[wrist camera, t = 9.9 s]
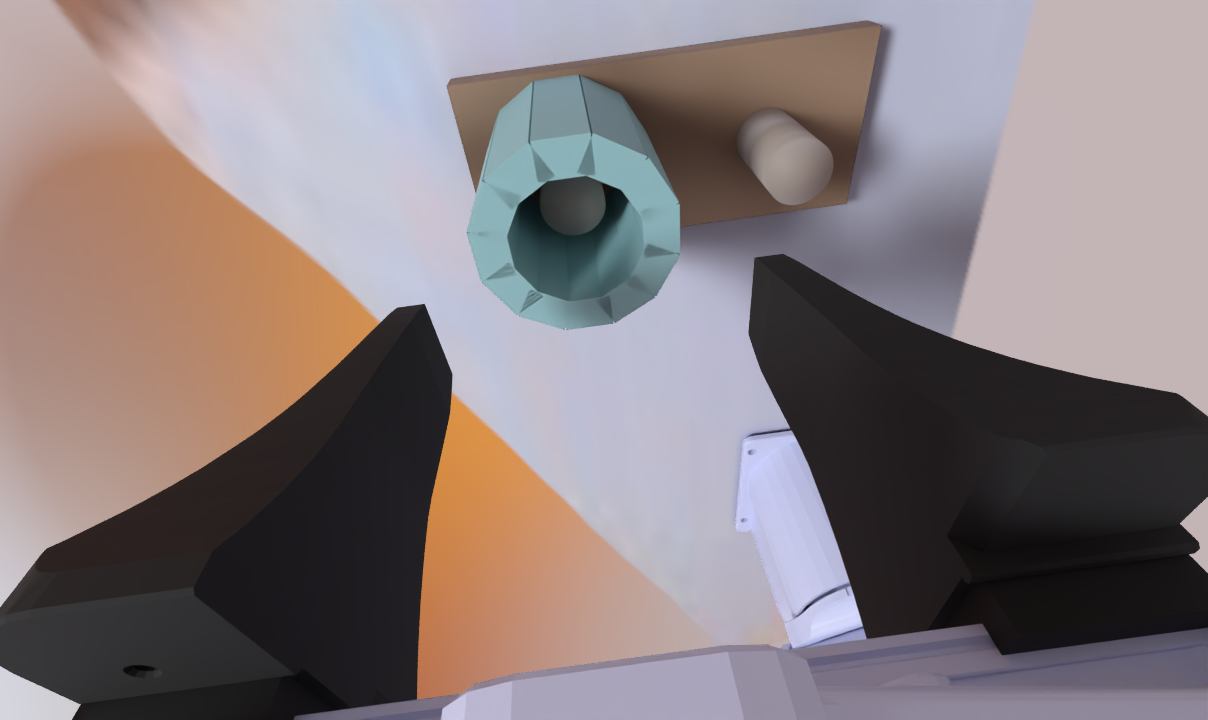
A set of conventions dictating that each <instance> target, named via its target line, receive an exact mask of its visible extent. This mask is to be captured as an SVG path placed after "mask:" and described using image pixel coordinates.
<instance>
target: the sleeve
mask: <svg viewBox="0 0 1208 720" xmlns="http://www.w3.org/2000/svg"><path fill="white" fill-rule="evenodd" d="M581 176H588V177H590V178H593V179H595V180H598V181H600V182H603V183H605V184H608V185H610V186H613V189H612V191H611V193H610V195H608V196H607V197H606V198H605V203H606V206H605V212H604V215H603V217H602V219H601V221H600V222H599V224H598V225H597V226H596V227H595V228H593V229H592V230H591V231H589V232H587V233H584V234H581V235H565V234H561V233H559V232H557V231H555V230H554V229H552V228H551V227H550V226H549V225H548V224H547V223H546V221H545V220H544V218H543V216H542V213H541V209H540V204H539V203H538V202H537V201H536V200H535V199H534V197H533V196H532V195H531V194H532V193H533V192H534V191H536V190H537V189H538V188H539V187H541V186H542V185H543V184H544V183H546V182H547V181H552V180H559V179H566V178H574V177H581ZM467 236H468V239H469V243H470V246H471V249H472V253H473V256H474V259H475V263H476V266H477V269H478V273H479V276H480V279H481V281H482V283H483V284H484V285H485V286H486V287H487V288H488V289H490V290H491V291H492V292H493V293H494V294H495V295H496V296H497V297H498V298H499V299H500V300H501V301H502V302H503V303H505V304H506V305H507V306H508V307H509V308H510V309H511V310H512V311H513V312H514V313H515V314H516V315H518V314H519V316H520V317H523V318H527V319H530V320H533V321H537V322H540V323H543V324H547V325H550V326H553V327H557V328H560V329H564V330H565V328H566V330H569V329H577V328H584V327H591V326H598V325H606V324H613V321H614V322H615V323H616V322H617V321H619V320H620V319H622V318H623V317H625V316H627V315H628V314H630V313H631V312H633V311H634V310H636V309H638V308H639V307H641V306H642V305H644V304H645V303H647V302H648V301H650V300H652V299H653V298H655V296H657V294H658V292H659V290H660V289H661V287H662V285H663V283H664V282H665V280H666V278H667V277H668V275H669V273H670V271H671V270H672V268H673V266H674V264H675V263H676V261H677V259H678V258H679V256H680V254H679V253H680V204H679V201H678V199H677V197H676V195H675V193H674V190H673V188H672V186H671V184H670V182H669V180H668V177H667V175H666V173H665V171H664V169H663V167H662V165H661V162H660V160H659V158H658V156H657V154H656V152H655V150H654V147H653V145H652V143H651V141H650V139H649V137H648V135H647V132H646V130H645V129H644V127H643V126H642V124H641V123H640V121H639V120H638V118H637V117H636V115H635V114H634V112H633V111H632V109H631V108H630V106H629V105H628V103H627V102H626V100H625V98H624V97H623V95H621V93H618V92H616V91H614V90H612V89H610V88H608V87H606V86H603V85H601V84H599V83H597V82H595V81H593V80H591V79H588V78H586V77H584V76H582V75H580V77H579V74H578V75H571V76H564V77H557V78H550V79H543V80H535V81H534V83H533V81H532V82H531V83H530V84H529V85H528V86H527V87H526V88H524V89H523V90H522V91H521V92H520V93H519V94H518V95H517V96H515V97H514V98H513V99H512V100H511V101H510V102H509V103H507V104H506V105H505V106H504V107H503V108H502V109H501V110H499V112H498V115H497V119H496V122H495V125H494V129H493V132H492V136H491V139H490V142H489V146H488V149H487V152H486V156H485V160H484V164H483V168H482V172H481V176H480V180H479V184H478V188H477V192H476V197H475V201H474V205H473V209H472V213H471V217H470V221H469V225H468V229H467ZM654 295H655V296H654Z"/></svg>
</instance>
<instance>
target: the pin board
mask: <svg viewBox="0 0 1208 720" xmlns="http://www.w3.org/2000/svg"><path fill="white" fill-rule="evenodd" d="M881 26H882V25H879V24H876V23H873V22H870V21H860V22H853V23H846V24H839V25H832V26H824V27H817V28H810V29H803V30H796V31H789V32H782V33H775V34H767V35H760V36H753V37H746V38H739V39H732V40H725V41H717V42H710V43H703V44H696V45H689V46H682V47H675V48H668V49H660V50H653V51H646V52H639V53H632V54H625V55H618V56H611V57H603V58H596V59H589V60H582V61H575V62H568V63H561V64H554V65H546V66H539V67H532V68H525V69H518V70H511V71H504V72H497V73H489V74H482V75H475V76H468V77H461V78H454V79H451V80H450V81H449V83H448V85H447V89H448V93H449V97H450V100H451V104H452V108H453V111H454V115H455V119H456V122H457V126H458V130H459V133H460V137H461V141H462V144H463V148H464V152H465V155H466V159H467V163H468V166H469V170H470V174H471V177H472V181H473V185H474V188H475V192H477V188H478V184H479V180H480V176H481V172H482V168H483V164H484V160H485V156H486V152H487V149H488V146H489V142H490V139H491V136H492V132H493V129H494V125H495V122H496V119H497V115H498V112H499V110H501V109H502V108H503V107H504V106H505V105H506V104H507V103H509V102H510V101H511V100H512V99H513V98H514V97H515V96H517V95H518V94H519V93H520V92H521V91H522V90H523V89H524V88H526V87H527V86H528V85H529V84H530V83H531V82H532V81H533V83H534V81H535V80H543V79H550V78H557V77H564V76H571V75H578V74H579V77H580V75H582V76H584V77H586V78H588V79H591V80H593V81H595V82H597V83H599V84H601V85H603V86H606V87H608V88H610V89H612V90H614V91H616V92H618V93H621V95H623V97H624V98H625V100H626V102H627V103H628V105H629V106H630V108H631V109H632V111H633V112H634V114H635V115H636V117H637V118H638V120H639V121H640V123H641V124H642V126H643V127H644V129H645V130H646V132H647V135H648V137H649V139H650V141H651V143H652V145H653V147H654V150H655V152H656V154H657V156H658V158H659V160H660V162H661V165H662V167H663V169H664V171H665V173H666V175H667V177H668V180H669V182H670V184H671V186H672V188H673V190H674V193H675V195H676V197H677V199H678V201H679V204H680V227H682V226H689V225H696V224H703V223H710V222H718V221H725V220H732V219H739V218H747V217H754V216H761V215H768V214H775V213H783V212H790V211H797V210H804V209H811V208H819V207H826V206H833V205H840V204H847V199H848V194H849V189H850V183H851V178H852V173H853V168H854V163H855V158H856V153H857V148H858V143H859V138H860V133H861V128H862V122H863V117H864V112H865V107H866V102H867V97H868V92H869V87H870V82H871V77H872V72H873V67H874V62H875V56H876V51H877V46H878V41H879V36H880V31H881ZM612 189H613V186H610V185H608V184H605V183H603V182H600V181H598V180H595V179H593V178H590V177H588V176H581V177H574V178H566V179H559V180H552V181H547V182H546V183H544V184H543V185H542V186H541V187H539V188H538V189H537V190H536V191H534V192H533V193H532V194H531V195H532V196H533V197H534V199H535V200H536V201H537V202H538V203H539V204H540V209H541V213H542V216H543V218H544V220H545V221H546V223H547V224H548V225H549V226H550V227H551V228H552V229H554V230H555V231H557V232H559V233H561V234H565V235H581V234H584V233H587V232H589V231H591V230H592V229H593V228H595V227H596V226H597V225H598V224H599V222H600V221H601V219H602V217H603V215H604V212H605V206H606V203H605V198H606V197H607V196H608V195H610V193H611V191H612Z"/></svg>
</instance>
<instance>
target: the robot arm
mask: <svg viewBox="0 0 1208 720" xmlns="http://www.w3.org/2000/svg"><path fill="white" fill-rule="evenodd" d="M749 336H750V340H751V343H752V346H753V349H754V352H755V355H756V358H757V361H758V363H759V366H760V369H761V371H762V373H763V375H764V377H765V380H766V381H767V383H768V385H769V387H770V389H771V391H772V393H773V395H774V397H775V399H776V401H777V403H778V405H779V407H780V409H781V411H782V413H783V415H784V417H785V419H786V421H787V423H788V424H789V426H790V428H791V430H792V431H785V432H777V433H770V434H763V435H755V436H750V437H747V438H746V439H745V440H744V441H743V444H742V455H741V465H740V476H739V487H738V498H737V509H736V520H735V527H736V530H737V531H738V532H749V531H752V533H753V536H754V539H755V542H756V545H757V548H758V551H759V554H760V557H761V560H762V563H763V566H764V569H765V572H766V575H767V578H768V581H769V584H770V587H771V590H772V593H773V596H774V599H775V602H776V605H777V608H778V610H779V612H780V615H781V617H782V618H783V620H784V621H785V624H784V625H785V628H786V631H787V634H788V637H789V640H790V642H791V643H789V644H786V645H784V646H782V647H781V649H780V648H777V647H773V646H770V645H726V646H717V647H710V648H703V649H695V650H688V651H681V652H674V653H666V654H658V655H651V656H643V657H636V658H628V659H621V660H615V661H606V662H599V663H591V664H584V665H576V666H569V667H562V668H554V669H547V670H540V671H532V672H525V673H517V674H512V675H509V676H504V677H500V678H496V679H492V680H488V681H484V682H481V683H476V684H474V685H473V686H471V687H470V688H468V689H467V690H465V691H464V692H463V693H461V694H456V695H448V696H440V697H433V698H425V699H418V700H417V668H418V638H419V619H420V601H421V588H422V575H423V563H424V552H425V542H426V533H427V522H428V515H429V509H430V504H431V498H432V493H433V489H434V484H435V479H436V475H437V471H438V466H439V462H440V457H441V453H442V448H443V444H444V439H445V434H446V430H447V425H448V420H449V415H450V405H451V393H452V372H451V369H450V367H449V364H448V362H447V359H446V357H445V354H444V352H443V349H442V347H441V344H440V342H439V339H438V337H437V334H436V331H435V329H434V326H433V324H432V321H431V319H430V316H429V314H428V311H427V309H426V306H425V304H421V305H414V306H407V307H399V308H396V309H395V310H394V311H393V312H391V313H390V314H389V315H388V316H387V317H386V318H385V319H384V320H383V321H382V322H381V323H380V324H379V325H378V326H377V327H376V328H375V329H374V330H373V331H371V333H369V335H367V336H366V337H365V338H364V339H363V340H362V341H361V342H360V343H359V344H358V345H357V346H356V348H354V349H353V350H352V351H351V352H350V353H349V354H348V355H347V356H346V357H345V358H344V359H343V360H342V361H341V362H340V363H339V364H338V365H337V366H336V367H335V368H334V369H332V370H331V371H330V372H329V373H328V374H327V375H326V376H325V377H324V378H322V379H321V380H320V381H319V382H318V383H317V384H316V385H315V386H314V387H312V388H311V389H310V390H309V391H308V392H307V393H306V394H305V395H303V396H302V397H301V398H300V399H299V400H297V401H296V402H295V403H294V404H293V405H291V406H290V407H289V408H288V409H286V410H285V411H284V412H283V413H282V414H280V415H279V416H277V417H276V418H275V419H274V420H272V421H271V422H269V423H268V424H267V425H266V426H264V427H263V428H261V429H260V430H259V431H257V432H256V433H254V434H253V435H252V436H250V437H249V438H247V439H246V440H244V441H243V442H241V443H239V444H238V445H237V446H235V447H233V448H232V449H231V450H229V451H227V452H226V453H224V454H223V455H221V456H220V457H218V458H217V459H215V460H214V461H212V462H211V463H209V464H207V465H206V466H204V467H203V468H201V469H199V470H198V471H196V472H194V473H193V474H191V475H189V476H187V477H186V478H184V479H183V480H181V481H179V482H177V483H176V484H174V485H172V486H170V487H168V488H167V489H165V490H163V491H161V492H159V493H158V494H156V495H154V496H152V497H150V498H148V499H147V500H145V501H143V502H141V503H139V504H137V505H136V506H134V507H132V508H130V509H128V510H126V511H124V512H122V513H120V514H118V515H116V516H114V517H112V518H110V519H108V520H106V521H104V522H102V523H99V524H97V525H95V526H93V527H92V528H89V529H87V530H85V531H83V532H81V533H79V534H77V535H75V536H73V537H71V538H69V539H67V540H65V541H62V542H61V543H58V544H56V545H54V546H52V547H49V548H47V549H46V550H45V551H44V552H43V553H42V554H41V555H40V557H39V558H38V559H37V561H36V562H35V563H34V564H33V566H32V567H31V568H30V570H29V571H28V572H27V574H26V575H25V576H24V578H23V579H22V580H21V581H20V583H19V584H18V586H17V587H16V588H15V589H14V591H13V592H12V593H11V594H10V596H9V597H8V598H7V599H6V601H5V602H4V603H3V605H2V606H1V607H0V666H1V667H3V668H5V669H7V670H8V671H10V672H12V673H13V674H16V675H18V676H20V677H22V678H24V679H27V680H29V681H31V682H33V683H35V684H37V685H40V686H42V687H44V688H46V689H49V690H51V691H53V692H55V693H57V694H59V695H61V696H64V697H66V698H68V699H70V700H72V701H74V702H76V703H79V704H81V705H80V707H79V709H78V710H77V712H76V714H75V716H74V717H73V719H72V720H1208V573H1207V572H1206V571H1205V570H1204V569H1203V568H1202V567H1201V566H1200V565H1199V564H1198V563H1197V562H1196V561H1195V560H1194V559H1193V558H1192V557H1191V556H1189V554H1193V553H1195V552H1197V551H1198V550H1199V549H1200V546H1199V542H1198V541H1197V540H1196V539H1195V538H1194V537H1193V536H1192V535H1191V534H1190V533H1189V532H1188V531H1187V530H1186V529H1185V528H1184V527H1183V526H1182V525H1180V523H1181V522H1182V521H1183V520H1184V519H1185V518H1186V517H1187V516H1188V515H1189V514H1190V513H1191V512H1192V511H1193V510H1194V509H1195V508H1196V507H1197V506H1198V505H1199V504H1200V503H1202V502H1203V501H1204V500H1205V499H1206V497H1208V416H1207V415H1205V414H1204V413H1203V412H1201V411H1200V410H1199V409H1197V408H1196V407H1195V406H1194V405H1192V404H1191V403H1190V402H1188V401H1187V400H1186V399H1185V398H1183V397H1182V396H1180V395H1179V394H1177V393H1172V392H1167V391H1161V390H1156V389H1150V388H1145V387H1139V386H1134V385H1129V384H1123V383H1117V382H1113V381H1107V380H1102V379H1096V378H1092V377H1087V376H1083V375H1078V374H1074V373H1070V372H1066V371H1062V370H1057V369H1053V368H1049V367H1045V366H1040V365H1036V364H1033V363H1030V362H1026V361H1022V360H1018V359H1015V358H1011V357H1008V356H1005V355H1002V354H998V353H995V352H992V351H989V350H986V349H982V348H979V347H976V346H973V345H970V344H967V343H964V342H961V341H958V340H956V339H953V338H950V337H948V336H945V335H942V334H940V333H937V332H935V331H932V330H930V329H927V328H925V327H922V326H920V325H917V324H915V323H913V322H910V321H908V320H906V319H904V318H901V317H899V316H897V315H895V314H893V313H891V312H889V311H887V310H885V309H883V308H881V307H879V306H877V305H874V304H873V303H871V302H869V301H867V300H865V299H863V298H861V297H859V296H857V295H856V294H854V293H852V292H850V291H848V290H846V289H845V288H843V287H841V286H839V285H838V284H836V283H834V282H832V281H831V280H829V279H827V278H825V277H824V276H822V275H820V274H819V273H817V272H815V271H813V270H812V269H810V268H808V267H806V266H805V265H803V264H801V263H800V262H798V261H796V260H794V259H792V258H790V257H788V256H786V255H784V254H779V255H772V256H765V257H758V258H755V261H754V273H753V285H752V297H751V309H750V321H749Z"/></svg>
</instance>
